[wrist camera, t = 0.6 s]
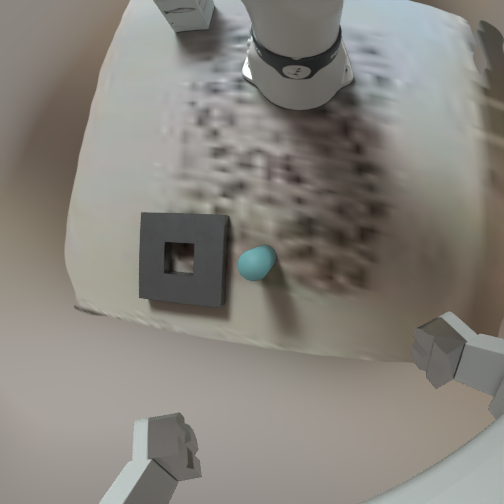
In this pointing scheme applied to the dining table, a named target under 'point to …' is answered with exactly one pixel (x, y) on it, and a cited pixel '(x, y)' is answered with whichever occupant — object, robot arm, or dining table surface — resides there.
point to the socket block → (205, 258)
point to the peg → (257, 262)
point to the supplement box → (187, 13)
